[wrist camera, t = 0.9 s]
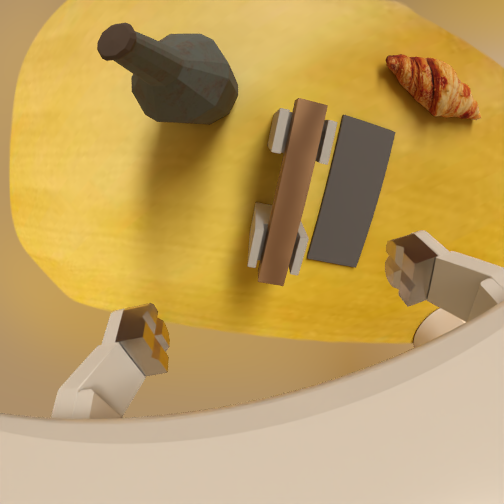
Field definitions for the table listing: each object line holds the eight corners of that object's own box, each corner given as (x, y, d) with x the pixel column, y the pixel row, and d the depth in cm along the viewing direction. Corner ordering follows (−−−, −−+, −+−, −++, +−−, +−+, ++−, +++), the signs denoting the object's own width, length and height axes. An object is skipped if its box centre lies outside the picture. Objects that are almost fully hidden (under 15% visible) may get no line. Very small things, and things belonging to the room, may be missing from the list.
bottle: (219, 135, 41) (149, 149, 14) (161, 112, 40) (26, 106, 12) (248, 75, 38) (234, -17, 10) (189, 53, 36) (93, -36, 9)
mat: (393, 132, 40) (395, 132, 40) (354, 265, 50) (355, 267, 49) (342, 114, 40) (343, 114, 39) (306, 256, 49) (307, 258, 49)
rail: (321, 107, 31) (327, 105, 28) (281, 274, 39) (283, 285, 37) (295, 100, 30) (298, 98, 28) (257, 270, 39) (257, 281, 36)
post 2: (295, 210, 46) (308, 238, 35) (288, 239, 48) (298, 275, 37) (255, 202, 46) (255, 228, 34) (249, 231, 48) (247, 266, 36)
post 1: (315, 123, 40) (337, 122, 29) (308, 154, 42) (327, 164, 31) (273, 113, 40) (280, 108, 29) (267, 145, 42) (271, 151, 31)
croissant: (465, 102, 39) (490, 86, 32) (471, 145, 39) (501, 131, 31) (375, 53, 37) (396, 25, 29) (376, 95, 37) (402, 67, 29)
